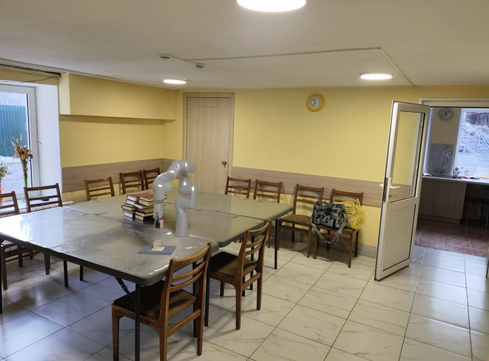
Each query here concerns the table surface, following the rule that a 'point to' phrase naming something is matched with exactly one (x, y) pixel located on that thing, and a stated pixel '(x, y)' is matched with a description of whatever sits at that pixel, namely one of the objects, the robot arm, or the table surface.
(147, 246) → the slate baseplate
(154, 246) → the maple cube
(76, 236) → the table surface
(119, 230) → the table surface
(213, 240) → the table surface
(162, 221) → the terracotta cube
